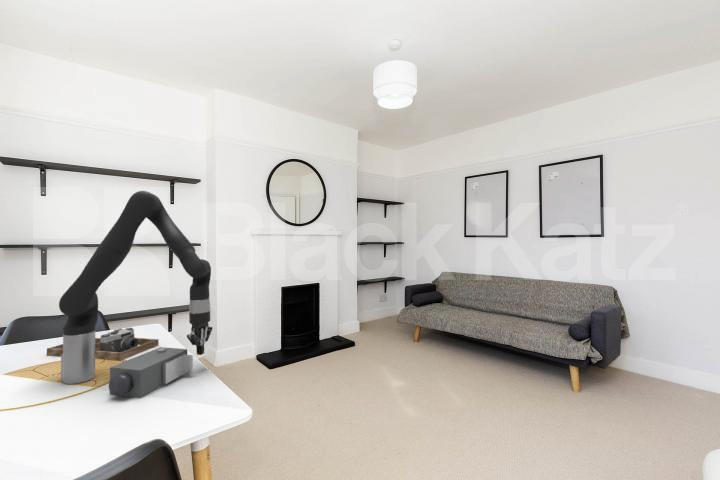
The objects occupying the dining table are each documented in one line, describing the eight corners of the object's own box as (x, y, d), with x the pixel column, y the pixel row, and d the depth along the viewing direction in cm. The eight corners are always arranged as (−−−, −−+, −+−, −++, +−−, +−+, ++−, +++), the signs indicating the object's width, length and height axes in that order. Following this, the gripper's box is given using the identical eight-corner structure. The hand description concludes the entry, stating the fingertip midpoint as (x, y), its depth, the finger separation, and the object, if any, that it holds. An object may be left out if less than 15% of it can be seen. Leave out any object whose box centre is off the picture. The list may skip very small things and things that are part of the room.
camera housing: (101, 398, 112) (101, 368, 112) (160, 369, 137) (160, 345, 137) (133, 402, 110) (133, 371, 110) (187, 372, 134) (187, 347, 134)
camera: (116, 358, 150) (116, 335, 150) (97, 356, 152) (97, 333, 152) (146, 347, 165) (146, 326, 165) (128, 345, 167) (128, 325, 167)
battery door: (162, 383, 121) (162, 363, 121) (182, 372, 131) (182, 354, 131) (173, 384, 121) (173, 364, 120) (192, 373, 130) (192, 355, 130)
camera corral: (91, 357, 150) (91, 350, 150) (132, 343, 170) (132, 337, 170) (120, 360, 147) (120, 353, 147) (158, 345, 167) (158, 339, 167)
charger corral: (46, 355, 153) (46, 348, 153) (86, 343, 170) (86, 337, 170) (74, 357, 150) (74, 350, 150) (111, 345, 167) (111, 339, 167)
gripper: (202, 306, 144) (202, 348, 144) (179, 313, 131) (180, 359, 131) (218, 307, 142) (219, 349, 142) (197, 314, 129) (197, 360, 129)
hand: (200, 354), depth 137 cm, fingers closed
